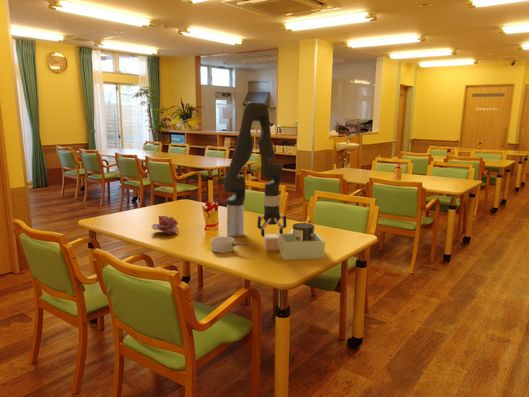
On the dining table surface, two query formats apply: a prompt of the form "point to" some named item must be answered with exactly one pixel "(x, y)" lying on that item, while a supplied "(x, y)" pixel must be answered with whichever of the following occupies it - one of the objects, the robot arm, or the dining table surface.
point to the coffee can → (303, 232)
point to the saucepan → (224, 244)
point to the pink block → (271, 242)
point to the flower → (166, 225)
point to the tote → (300, 247)
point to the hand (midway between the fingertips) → (271, 236)
